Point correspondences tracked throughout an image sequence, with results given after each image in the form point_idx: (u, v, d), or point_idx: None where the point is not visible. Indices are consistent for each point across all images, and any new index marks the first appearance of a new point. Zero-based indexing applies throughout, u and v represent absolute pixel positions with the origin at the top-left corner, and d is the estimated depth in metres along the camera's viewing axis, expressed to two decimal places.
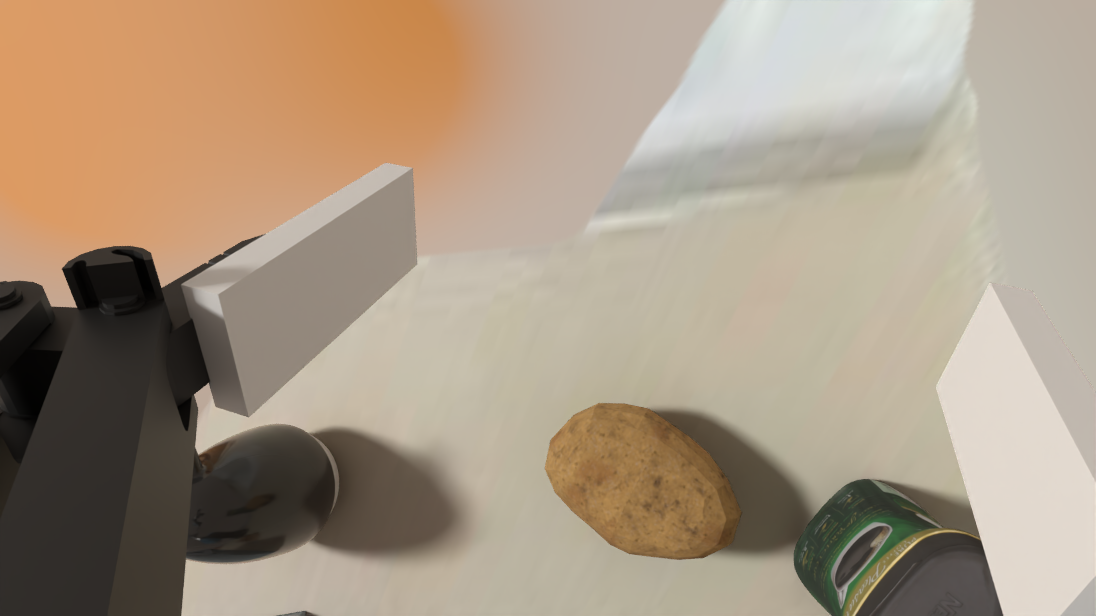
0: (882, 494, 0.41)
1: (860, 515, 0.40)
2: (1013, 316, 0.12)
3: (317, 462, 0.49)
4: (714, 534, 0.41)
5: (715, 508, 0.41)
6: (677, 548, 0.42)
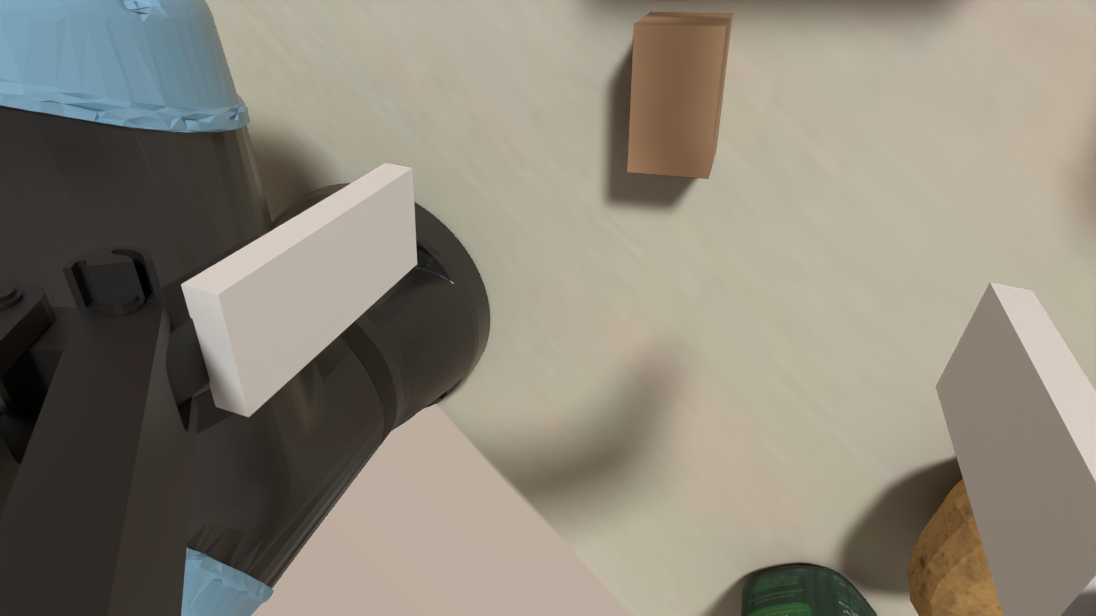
0: None
1: None
2: (1013, 317, 0.12)
3: None
4: None
5: None
6: (959, 602, 0.30)
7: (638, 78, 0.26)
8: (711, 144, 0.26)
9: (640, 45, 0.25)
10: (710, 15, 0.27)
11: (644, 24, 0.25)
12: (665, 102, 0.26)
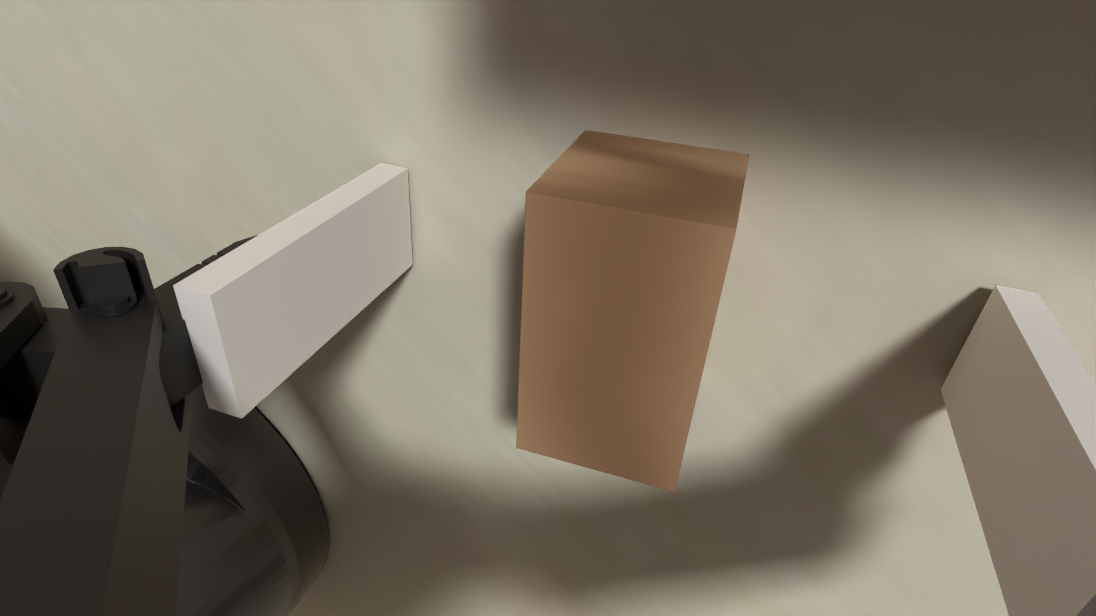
0: None
1: None
2: (1019, 319, 0.12)
3: None
4: None
5: None
6: None
7: (536, 297, 0.12)
8: (685, 437, 0.12)
9: (538, 236, 0.11)
10: (703, 159, 0.13)
11: (549, 194, 0.11)
12: (592, 349, 0.12)
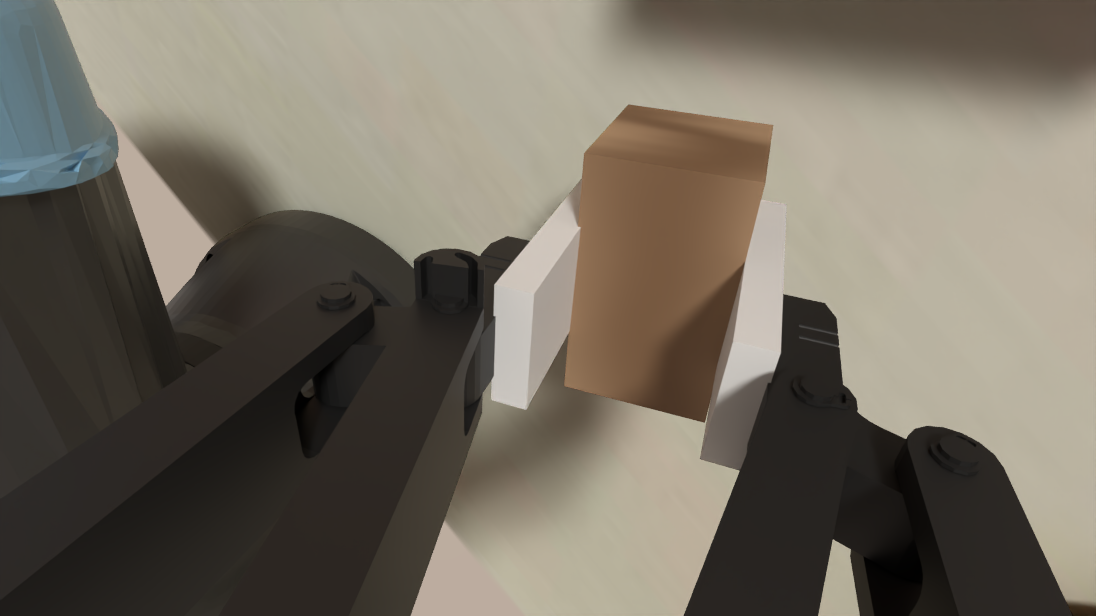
0: None
1: None
2: (756, 219, 0.14)
3: None
4: None
5: None
6: None
7: (588, 246, 0.14)
8: (715, 372, 0.14)
9: (593, 192, 0.13)
10: (733, 130, 0.14)
11: (604, 155, 0.13)
12: (636, 293, 0.14)
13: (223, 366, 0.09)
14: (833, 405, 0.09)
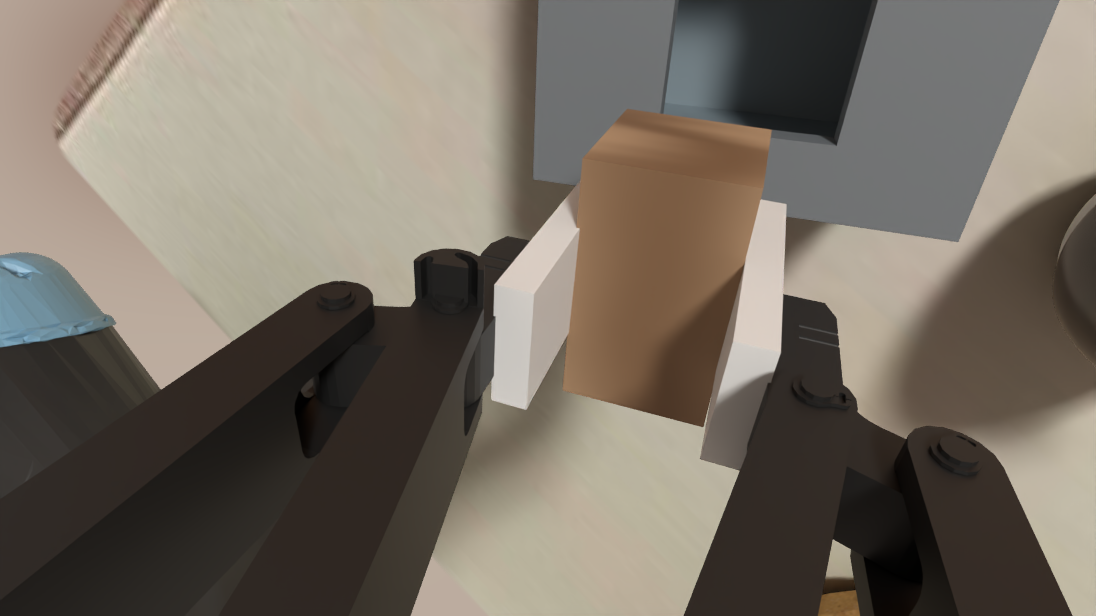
0: None
1: None
2: (756, 219, 0.14)
3: None
4: None
5: None
6: None
7: (587, 251, 0.14)
8: (714, 377, 0.14)
9: (592, 197, 0.13)
10: (731, 134, 0.14)
11: (602, 160, 0.13)
12: (635, 297, 0.14)
13: (223, 366, 0.09)
14: (833, 405, 0.09)
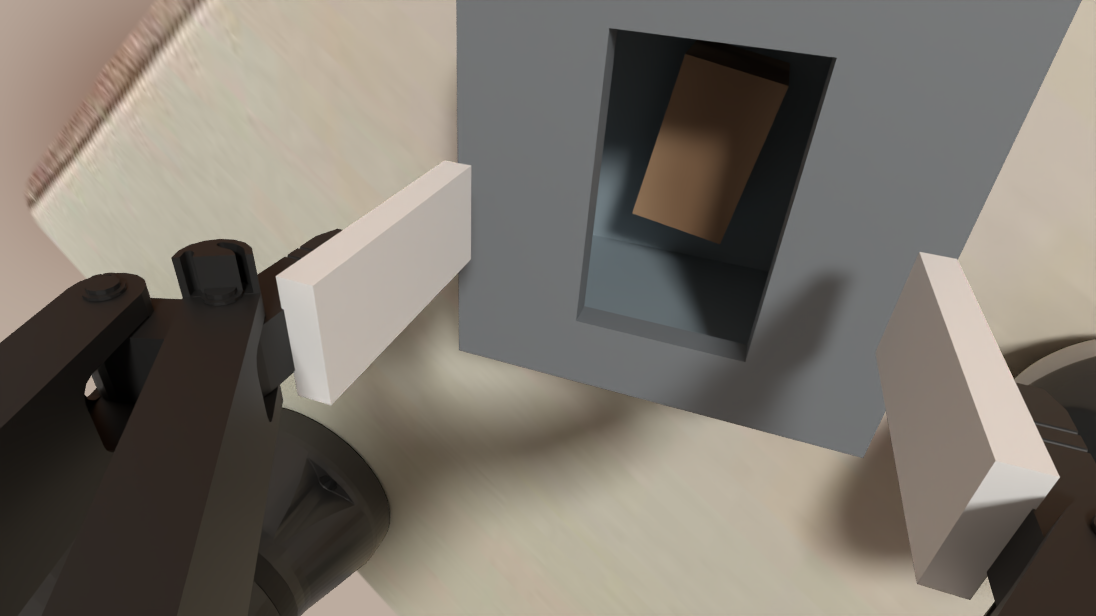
0: None
1: None
2: (934, 281, 0.13)
3: None
4: None
5: None
6: None
7: (673, 115, 0.22)
8: (734, 209, 0.23)
9: (684, 79, 0.21)
10: (766, 60, 0.23)
11: (696, 57, 0.21)
12: (696, 150, 0.22)
13: None
14: None
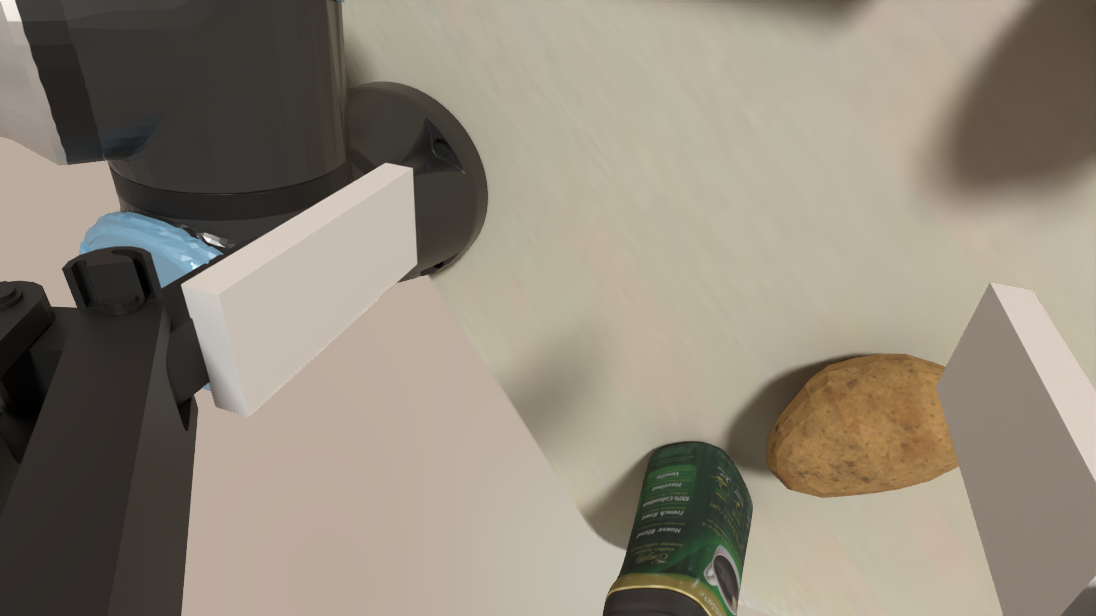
0: None
1: (742, 556, 0.49)
2: (1014, 316, 0.12)
3: None
4: (787, 479, 0.44)
5: (808, 491, 0.44)
6: (794, 453, 0.42)
7: None
8: None
9: None
10: None
11: None
12: None
13: None
14: None
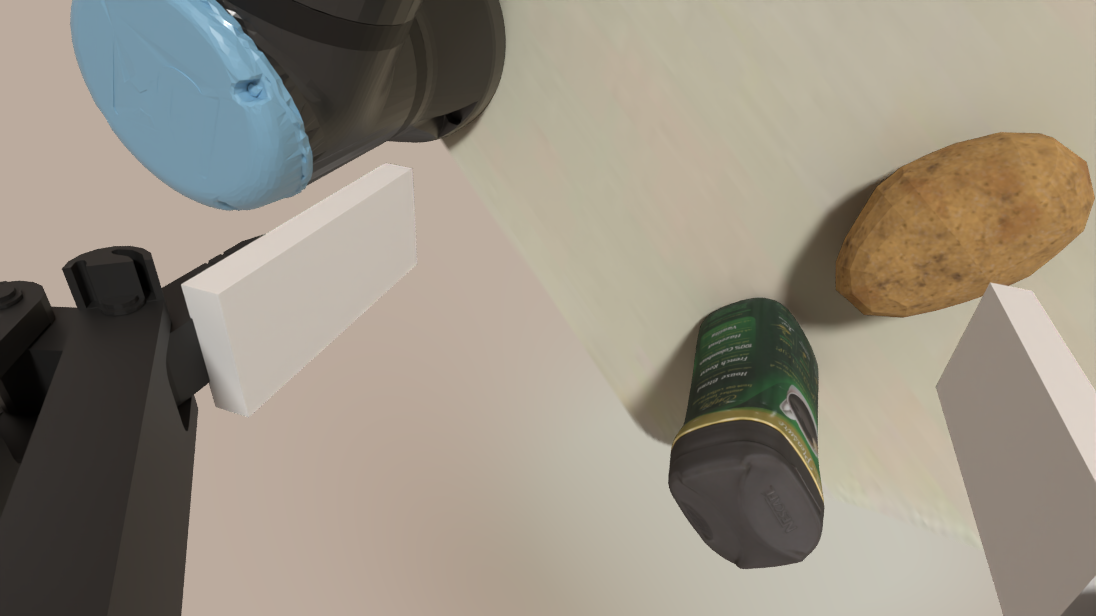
0: None
1: (816, 406, 0.44)
2: (1013, 316, 0.12)
3: None
4: (864, 297, 0.39)
5: (889, 309, 0.39)
6: (872, 260, 0.38)
7: None
8: None
9: None
10: None
11: None
12: None
13: None
14: None
